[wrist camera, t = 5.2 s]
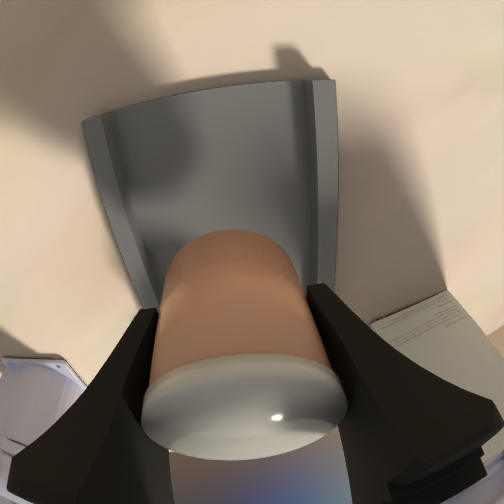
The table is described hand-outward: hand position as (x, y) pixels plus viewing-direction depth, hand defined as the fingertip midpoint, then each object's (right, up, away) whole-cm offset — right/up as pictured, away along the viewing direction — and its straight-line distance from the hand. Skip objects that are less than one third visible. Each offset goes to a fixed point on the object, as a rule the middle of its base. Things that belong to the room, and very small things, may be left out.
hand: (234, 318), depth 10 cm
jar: (0, +1, +1) cm, 2 cm away
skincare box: (+14, -4, +13) cm, 20 cm away
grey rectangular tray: (0, -1, +9) cm, 9 cm away
